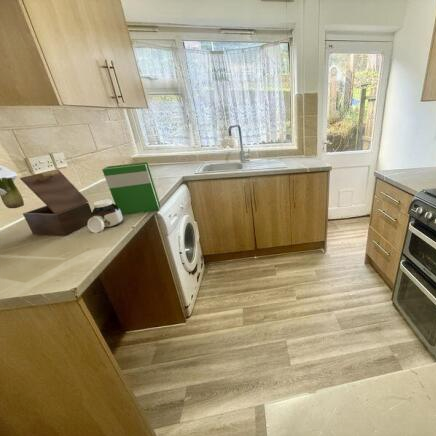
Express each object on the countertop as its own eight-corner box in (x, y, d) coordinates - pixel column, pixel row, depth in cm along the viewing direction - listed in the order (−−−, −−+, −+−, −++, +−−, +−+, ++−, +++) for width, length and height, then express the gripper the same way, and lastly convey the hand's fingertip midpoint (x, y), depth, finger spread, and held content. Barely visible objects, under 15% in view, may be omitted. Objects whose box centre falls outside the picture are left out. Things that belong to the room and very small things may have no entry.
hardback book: (160, 206, 133) (147, 162, 123) (159, 210, 126) (145, 164, 116) (123, 212, 127) (106, 166, 117) (120, 217, 121) (102, 169, 111)
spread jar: (126, 220, 117) (117, 197, 112) (120, 230, 107) (110, 205, 102) (96, 225, 113) (86, 201, 108) (87, 235, 103) (76, 210, 99)
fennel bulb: (29, 205, 96) (13, 175, 91) (13, 210, 91) (-4, 179, 86) (19, 204, 97) (3, 175, 92) (3, 209, 93) (-15, 179, 88)
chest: (33, 234, 106) (22, 213, 102) (65, 220, 119) (57, 201, 115) (66, 236, 103) (56, 214, 99) (95, 221, 117) (88, 202, 113)
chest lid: (19, 178, 95) (25, 172, 93) (57, 170, 108) (63, 164, 106) (55, 214, 99) (61, 208, 98) (87, 202, 113) (93, 196, 111)
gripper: (-14, 168, 96) (27, 190, 102) (-72, 181, 78) (-18, 207, 83) (-6, 156, 95) (35, 178, 101) (-62, 166, 77) (-9, 193, 82)
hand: (11, 191), depth 92 cm, fingers closed on fennel bulb, 3 cm apart
